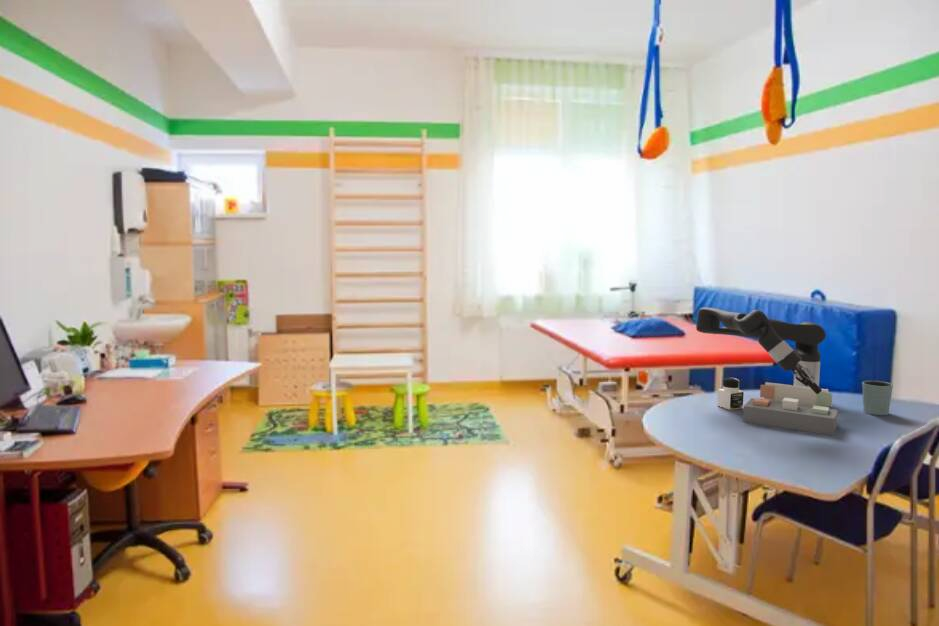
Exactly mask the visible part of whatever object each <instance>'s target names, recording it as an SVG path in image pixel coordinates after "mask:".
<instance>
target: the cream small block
mask: <svg viewBox="0 0 939 626" xmlns="http://www.w3.org/2000/svg"><path fill="white" fill-rule="evenodd" d="M782 409H789V410H796V411H798V409H799V399H793V398H784V399H783V400H782Z"/></svg>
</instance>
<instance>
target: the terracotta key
mask: <svg viewBox="0 0 939 626" xmlns="http://www.w3.org/2000/svg"><path fill="white" fill-rule="evenodd" d="M754 399H755V400H754V401H753V405H760V406H767V407H768V406H769V405H770V400H769V399H764V398H763V397H756V398H754Z"/></svg>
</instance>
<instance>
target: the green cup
mask: <svg viewBox="0 0 939 626" xmlns="http://www.w3.org/2000/svg"><path fill="white" fill-rule="evenodd" d="M861 384H862V385H861V386H862V408H863V413H865V414H867V413H868V415H871V414H873V415H872V416H878V415H886V416H888V415H889V413H890V406H891V399H892V393H893V392H892V391H893V383H891V382H889V381H888V382H887V381H882V380H863V381H862V383H861Z"/></svg>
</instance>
